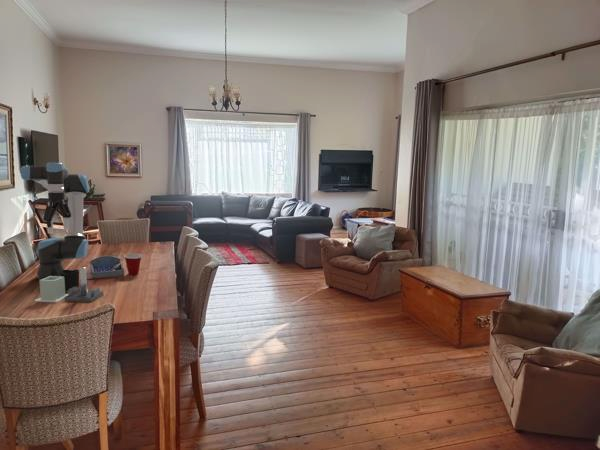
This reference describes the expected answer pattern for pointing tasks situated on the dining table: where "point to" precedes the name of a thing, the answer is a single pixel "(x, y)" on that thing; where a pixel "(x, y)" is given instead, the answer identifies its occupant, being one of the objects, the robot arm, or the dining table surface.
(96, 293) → the block with threaded rod
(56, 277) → the sleeve
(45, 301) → the mat
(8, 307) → the dining table surface
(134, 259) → the plastic cup
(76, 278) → the pen holder
